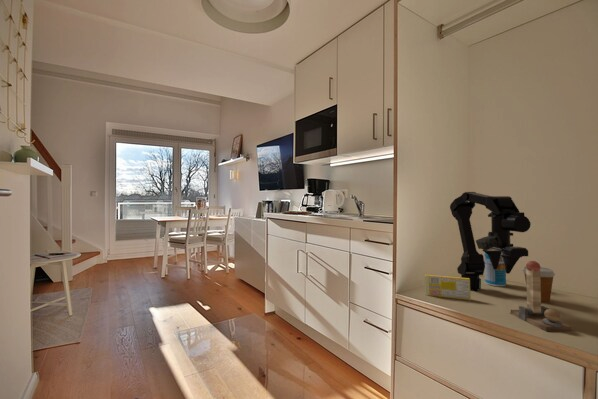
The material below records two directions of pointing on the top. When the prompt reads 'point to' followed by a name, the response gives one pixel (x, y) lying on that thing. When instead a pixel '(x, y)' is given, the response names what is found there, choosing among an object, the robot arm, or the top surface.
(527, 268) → the lever
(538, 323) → the base
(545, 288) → the disposable coffee cup
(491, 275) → the beverage bottle
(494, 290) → the top surface
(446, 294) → the candy box
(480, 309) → the top surface
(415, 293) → the top surface
